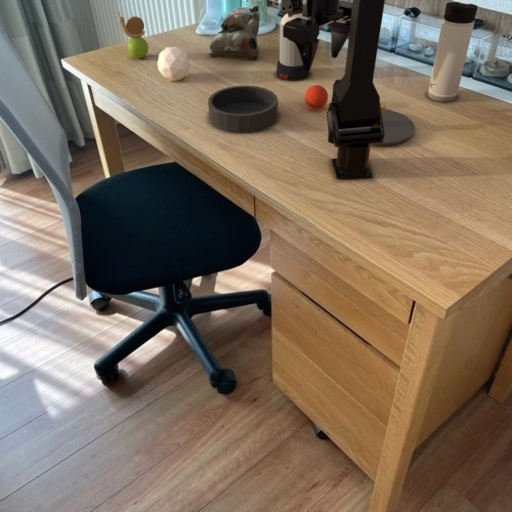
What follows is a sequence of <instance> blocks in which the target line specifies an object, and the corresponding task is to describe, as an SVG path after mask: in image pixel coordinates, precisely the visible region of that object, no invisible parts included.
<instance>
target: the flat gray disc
mask: <svg viewBox="0 0 512 512" xmlns="http://www.w3.org/2000/svg"><path fill="white" fill-rule="evenodd" d="M380 105H381V112H382V119H383V126H384V133H385V136H384V139H383V142H382V143H371V145H374V146H390V145H391V146H392V145H396V144H397V145H398V144H400V143H403V142H406V141H408V140H409V139H411V138H412V137H413V135H414V134H415V131H416V125H415V123H414V122H413V120H412V119H411V118H410V117H408V116H406V115H405V114H403V113H400V112H398V111H396V110H392V109H387V108H386V106H387V105H386V103H384V102H380ZM366 128H371V127H360V128H349V129H339V131H344V130H355V129H366Z"/></svg>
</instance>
